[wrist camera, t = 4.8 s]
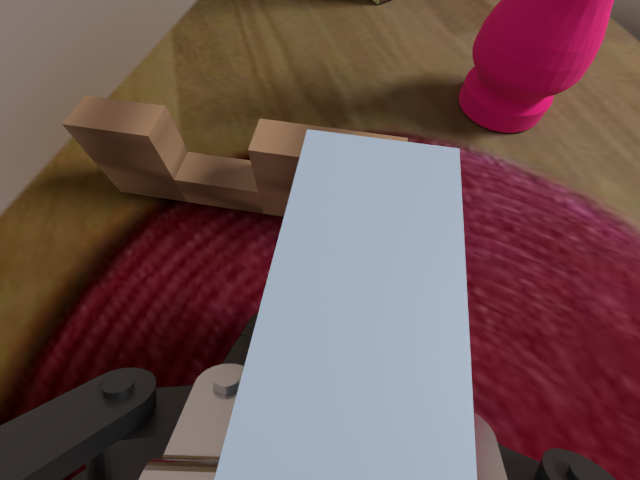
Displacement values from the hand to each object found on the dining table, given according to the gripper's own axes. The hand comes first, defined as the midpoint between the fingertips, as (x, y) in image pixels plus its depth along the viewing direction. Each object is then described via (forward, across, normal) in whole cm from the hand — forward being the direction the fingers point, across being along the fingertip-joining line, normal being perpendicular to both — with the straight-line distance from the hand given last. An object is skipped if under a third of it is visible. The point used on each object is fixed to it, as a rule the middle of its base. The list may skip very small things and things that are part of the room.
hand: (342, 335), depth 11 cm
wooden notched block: (+11, +7, -2) cm, 13 cm away
